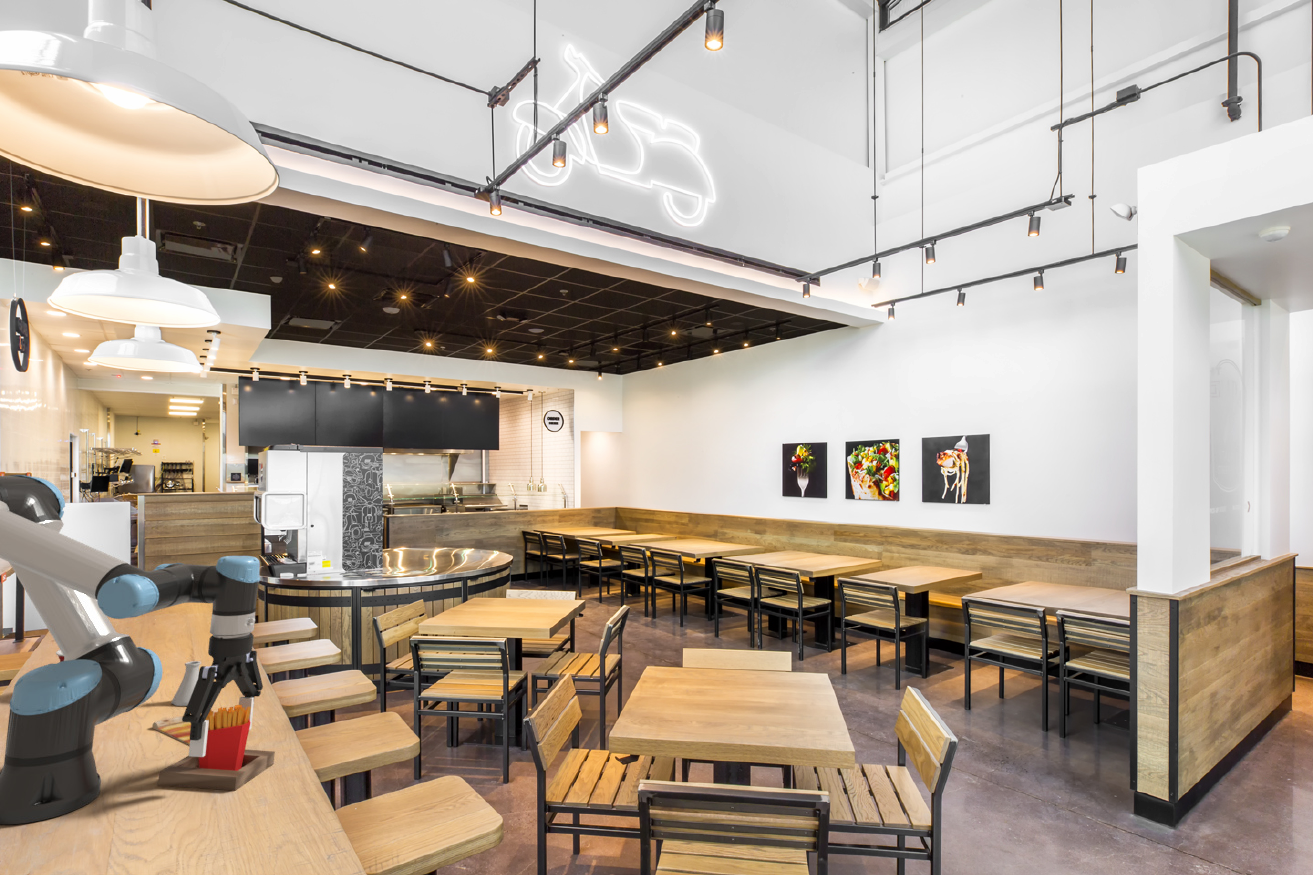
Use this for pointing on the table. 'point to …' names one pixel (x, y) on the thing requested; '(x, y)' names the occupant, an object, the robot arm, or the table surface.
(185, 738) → the pizza slice
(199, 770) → the fry holder
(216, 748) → the french fries
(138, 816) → the table surface
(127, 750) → the table surface
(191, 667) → the flask
